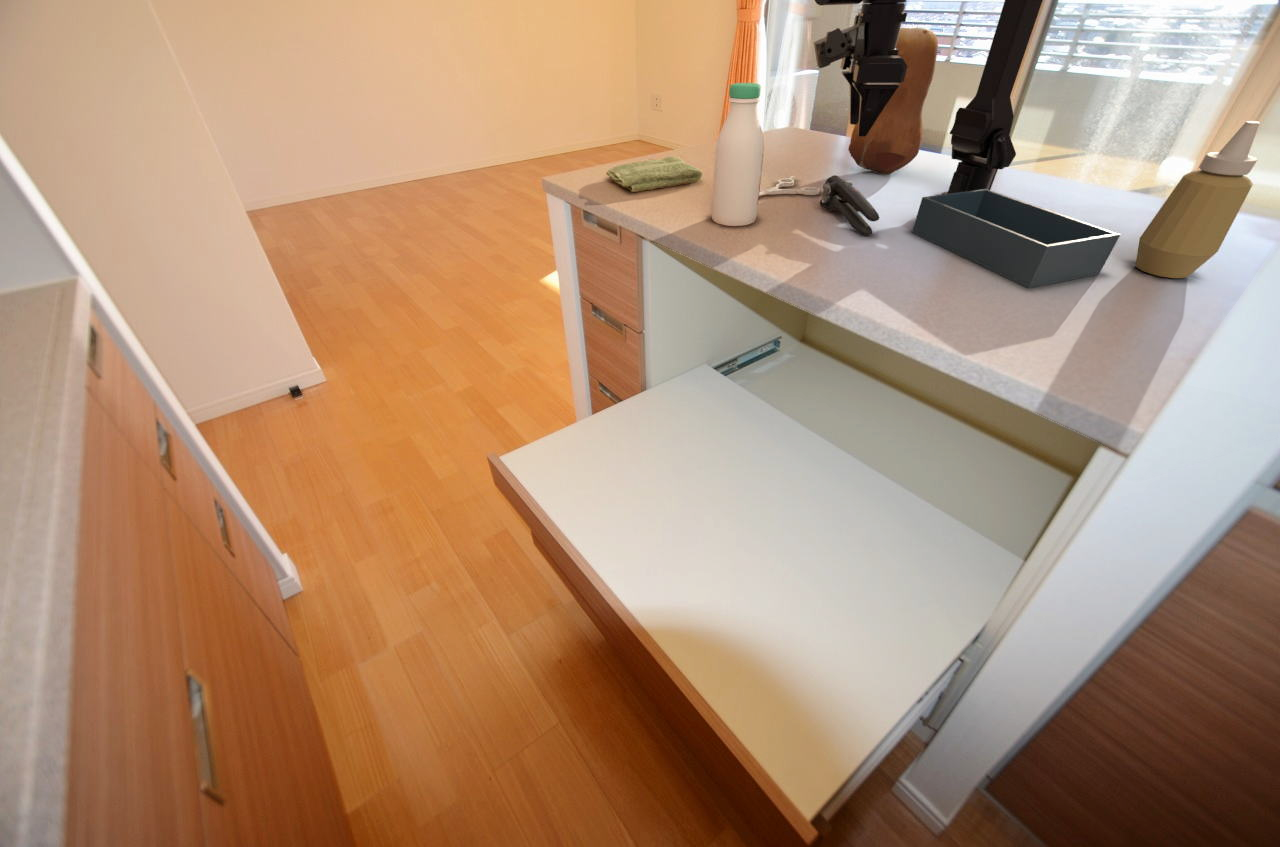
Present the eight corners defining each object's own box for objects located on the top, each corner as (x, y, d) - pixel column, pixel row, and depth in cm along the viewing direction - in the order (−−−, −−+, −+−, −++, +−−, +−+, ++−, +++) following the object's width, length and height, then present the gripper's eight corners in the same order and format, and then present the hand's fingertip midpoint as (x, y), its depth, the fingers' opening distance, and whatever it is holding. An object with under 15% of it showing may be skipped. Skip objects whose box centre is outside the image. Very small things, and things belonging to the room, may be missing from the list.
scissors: (829, 188, 103) (745, 204, 96) (828, 192, 104) (744, 208, 97) (792, 176, 111) (711, 190, 104) (791, 180, 111) (711, 194, 104)
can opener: (810, 204, 98) (816, 172, 95) (847, 203, 99) (854, 170, 95) (846, 239, 85) (854, 202, 81) (889, 237, 85) (899, 200, 81)
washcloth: (603, 178, 115) (602, 162, 113) (678, 169, 120) (678, 153, 118) (625, 195, 105) (624, 177, 103) (705, 184, 110) (706, 167, 108)
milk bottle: (755, 228, 89) (771, 87, 77) (708, 226, 91) (717, 87, 78) (756, 213, 95) (772, 80, 83) (713, 211, 96) (721, 80, 84)
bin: (972, 223, 89) (985, 188, 86) (1098, 274, 73) (1120, 234, 69) (911, 232, 86) (922, 197, 83) (1028, 288, 70) (1047, 246, 66)
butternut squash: (892, 162, 121) (927, 24, 105) (924, 178, 111) (969, 27, 95) (833, 165, 120) (860, 26, 104) (860, 182, 109) (895, 30, 94)
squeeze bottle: (1110, 261, 76) (1189, 117, 65) (1164, 258, 77) (1251, 114, 65) (1158, 285, 70) (1254, 130, 59) (1216, 281, 70) (1323, 127, 59)
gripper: (817, 3, 82) (800, 118, 92) (830, 6, 68) (808, 142, 78) (894, 1, 81) (868, 119, 91) (923, 4, 67) (889, 143, 76)
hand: (857, 130), depth 84 cm, fingers open, 9 cm apart
